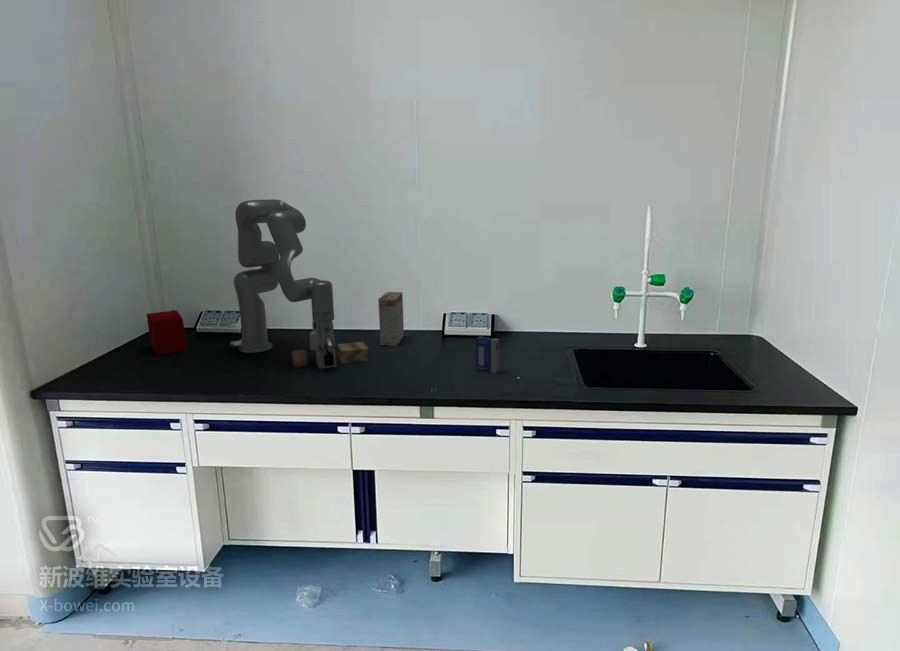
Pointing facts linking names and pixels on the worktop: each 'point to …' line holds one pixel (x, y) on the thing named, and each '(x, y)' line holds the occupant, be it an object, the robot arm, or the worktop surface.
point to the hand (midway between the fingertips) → (326, 361)
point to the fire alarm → (166, 332)
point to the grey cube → (320, 358)
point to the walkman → (487, 354)
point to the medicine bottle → (313, 338)
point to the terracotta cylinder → (299, 358)
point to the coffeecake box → (391, 318)
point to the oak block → (353, 352)
